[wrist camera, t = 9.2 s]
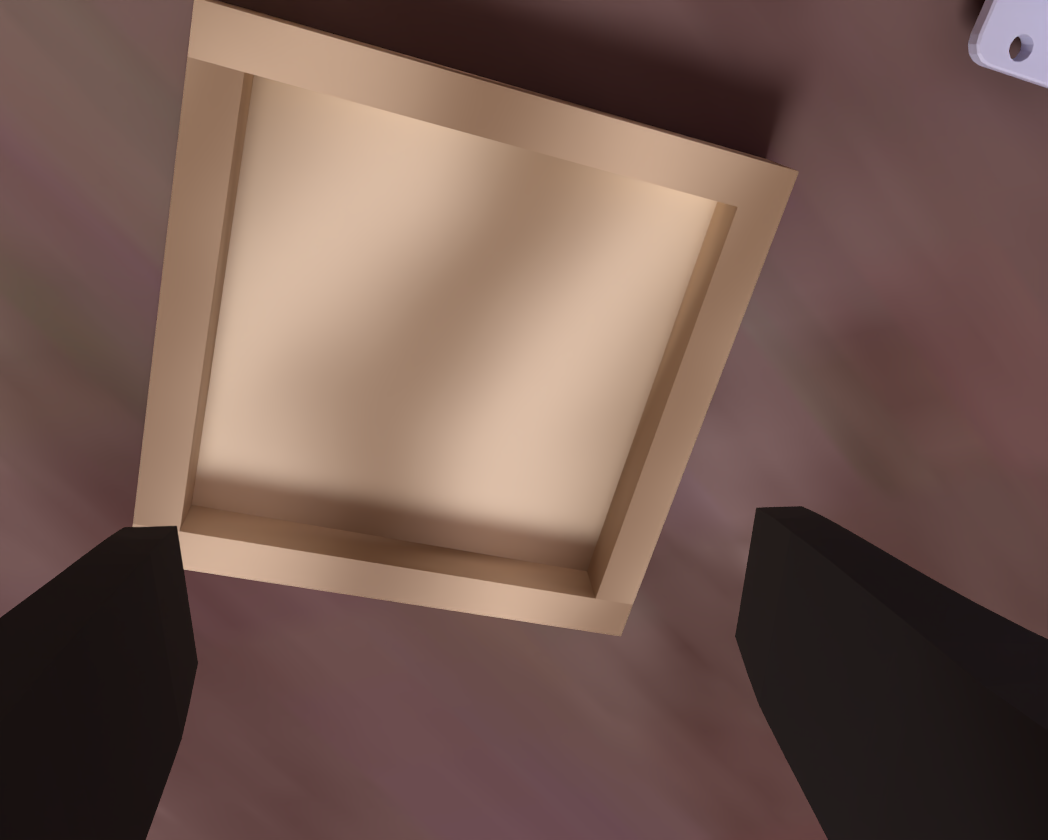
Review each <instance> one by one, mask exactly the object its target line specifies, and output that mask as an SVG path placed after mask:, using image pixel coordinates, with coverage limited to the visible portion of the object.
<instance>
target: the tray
mask: <svg viewBox="0 0 1048 840" xmlns="http://www.w3.org/2000/svg"><path fill="white" fill-rule="evenodd" d="M798 173H799V171H796V170H794V169H791V168H789V167H786V166H783V165H781V164H778V163H776V162H773V161H770V160H768V159H765V158H761V157H758V156H754V155H751V154H748V153H744V152H741V151H737V150H734V149H730V148H727V147H723V146H720V145H716V144H713V143H709V142H706V141H703V140H699V139H696V138H692V137H689V136H685V135H682V134H678V133H675V132H671V131H668V130H664V129H661V128H657V127H654V126H651V125H647V124H644V123H640V122H637V121H633V120H630V119H626V118H623V117H619V116H616V115H612V114H609V113H606V112H602V111H599V110H595V109H592V108H588V107H585V106H581V105H578V104H574V103H571V102H567V101H564V100H561V99H557V98H554V97H550V96H547V95H543V94H540V93H536V92H533V91H529V90H526V89H522V88H519V87H516V86H512V85H509V84H505V83H502V82H498V81H495V80H491V79H488V78H484V77H481V76H477V75H474V74H470V73H467V72H464V71H460V70H457V69H453V68H450V67H446V66H443V65H439V64H436V63H432V62H429V61H425V60H422V59H419V58H415V57H412V56H408V55H405V54H401V53H398V52H394V51H391V50H387V49H384V48H380V47H377V46H374V45H370V44H367V43H363V42H360V41H356V40H353V39H349V38H346V37H342V36H339V35H335V34H332V33H329V32H325V31H322V30H318V29H315V28H311V27H308V26H304V25H301V24H297V23H294V22H290V21H287V20H283V19H280V18H277V17H273V16H270V15H266V14H263V13H259V12H256V11H252V10H249V9H245V8H242V7H238V6H235V5H232V4H228V3H225V2H221V1H218V0H194V6H193V14H192V23H191V32H190V40H189V49H188V57H187V66H186V74H185V83H184V92H183V100H182V109H181V117H180V126H179V134H178V143H177V152H176V160H175V169H174V177H173V186H172V195H171V203H170V212H169V220H168V229H167V237H166V246H165V255H164V263H163V272H162V280H161V289H160V298H159V306H158V315H157V323H156V332H155V340H154V349H153V358H152V366H151V375H150V383H149V392H148V401H147V409H146V418H145V426H144V435H143V443H142V452H141V461H140V469H139V478H138V486H137V495H136V504H135V512H134V521H133V527H154V526H177V529H178V536H179V542H180V549H181V556H182V562H183V569H185V570H191V571H198V572H204V573H211V574H217V575H224V576H230V577H237V578H243V579H250V580H256V581H263V582H270V583H276V584H283V585H289V586H296V587H302V588H309V589H315V590H322V591H328V592H335V593H341V594H348V595H354V596H361V597H368V598H374V599H381V600H387V601H394V602H400V603H407V604H413V605H420V606H426V607H433V608H439V609H446V610H452V611H459V612H466V613H472V614H479V615H485V616H492V617H498V618H505V619H511V620H518V621H524V622H531V623H537V624H544V625H550V626H557V627H564V628H570V629H577V630H583V631H590V632H596V633H603V634H609V635H616V636H621V634H622V632H623V629H624V626H625V624H626V621H627V619H628V616H629V613H630V611H631V608H632V605H633V603H634V600H635V598H636V595H637V592H638V590H639V587H640V585H641V582H642V579H643V577H644V574H645V572H646V569H647V566H648V564H649V561H650V559H651V556H652V553H653V551H654V548H655V546H656V543H657V540H658V538H659V535H660V532H661V530H662V527H663V525H664V522H665V519H666V517H667V514H668V512H669V509H670V506H671V504H672V501H673V499H674V496H675V493H676V491H677V488H678V486H679V483H680V480H681V478H682V475H683V472H684V470H685V467H686V465H687V462H688V459H689V457H690V454H691V452H692V449H693V446H694V444H695V441H696V439H697V436H698V433H699V431H700V428H701V426H702V423H703V420H704V418H705V415H706V412H707V410H708V407H709V405H710V402H711V399H712V397H713V394H714V392H715V389H716V386H717V384H718V381H719V379H720V376H721V373H722V371H723V368H724V366H725V363H726V360H727V358H728V355H729V353H730V350H731V347H732V345H733V342H734V339H735V337H736V334H737V332H738V329H739V326H740V324H741V321H742V319H743V316H744V313H745V311H746V308H747V306H748V303H749V300H750V298H751V295H752V293H753V290H754V287H755V285H756V282H757V279H758V277H759V274H760V272H761V269H762V266H763V264H764V261H765V259H766V256H767V253H768V251H769V248H770V246H771V243H772V240H773V238H774V235H775V233H776V230H777V227H778V225H779V222H780V219H781V217H782V214H783V212H784V209H785V206H786V204H787V201H788V199H789V196H790V193H791V191H792V188H793V186H794V183H795V180H796V178H797V175H798Z"/></svg>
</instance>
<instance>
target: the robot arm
mask: <svg viewBox="0 0 1048 840" xmlns="http://www.w3.org/2000/svg"><path fill="white" fill-rule="evenodd" d="M1016 37H1019V38H1020V40H1021V49H1020V52H1019V53H1018V55H1017V56H1016V57H1015V58H1014V59H1011V58H1010V55H1009V48H1010V44H1011V43H1012V41H1013V40H1014V39H1015V38H1016ZM968 49H969V55H970V56H971V58H972V60H973V61H974V62H975V63H977V64H978V65H980V66H983V67H986V68H989V69H992V70H995V71H998V72H1001V73H1004V74H1007V75H1010V76H1013V77H1016V78H1019V79H1022V80H1025V81H1028V82H1031V83H1034V84H1037V85H1040V86H1043V87H1046V88H1048V0H985V2H984V4H983V7H982V9H981V11H980V14H979V16H978V18H977V21H976V23H975V25H974V27H973V30H972V32H971V35H970V39H969V42H968ZM735 637H736V640H737V643H738V646H739V649H740V652H741V655H742V658H743V661H744V664H745V667H746V670H747V673H748V676H749V679H750V682H751V684H752V687H753V690H754V692H755V695H756V698H757V701H758V703H759V706H760V708H761V710H762V712H763V714H764V716H765V718H766V720H767V722H768V724H769V726H770V728H771V730H772V732H773V734H774V736H775V738H776V740H777V742H778V744H779V746H780V748H781V750H782V752H783V753H784V755H785V757H786V759H787V761H788V763H789V765H790V767H791V769H792V771H793V773H794V775H795V777H796V779H797V781H798V782H799V784H800V786H801V788H802V790H803V792H804V794H805V796H806V798H807V800H808V802H809V804H810V806H811V808H812V809H813V811H814V813H815V815H816V817H817V819H818V821H819V823H820V825H821V827H822V829H823V831H824V833H825V834H826V836H827V838H828V840H1048V639H1046V638H1044V637H1042V636H1040V635H1038V634H1036V633H1033V632H1031V631H1029V630H1027V629H1025V628H1023V627H1021V626H1020V625H1018V624H1016V623H1014V622H1012V621H1010V620H1008V619H1006V618H1004V617H1002V616H1000V615H998V614H996V613H994V612H992V611H990V610H988V609H986V608H985V607H983V606H981V605H979V604H977V603H975V602H973V601H971V600H969V599H968V598H966V597H964V596H962V595H960V594H958V593H957V592H955V591H953V590H951V589H949V588H947V587H946V586H944V585H942V584H940V583H939V582H937V581H935V580H933V579H931V578H930V577H928V576H926V575H924V574H923V573H921V572H919V571H917V570H916V569H914V568H912V567H910V566H909V565H907V564H905V563H904V562H902V561H900V560H898V559H897V558H895V557H893V556H892V555H890V554H888V553H886V552H885V551H883V550H881V549H880V548H878V547H876V546H874V545H873V544H871V543H869V542H868V541H866V540H864V539H862V538H861V537H859V536H857V535H856V534H854V533H852V532H850V531H849V530H847V529H845V528H843V527H841V526H840V525H838V524H836V523H834V522H832V521H831V520H829V519H827V518H825V517H823V516H821V515H819V514H817V513H815V512H813V511H811V510H809V509H806V508H804V507H802V506H797V507H765V508H756V513H755V519H754V525H753V531H752V537H751V544H750V550H749V556H748V562H747V568H746V574H745V580H744V586H743V592H742V599H741V605H740V611H739V617H738V623H737V629H736V635H735ZM197 664H198V661H197V654H196V648H195V641H194V634H193V628H192V621H191V615H190V608H189V602H188V595H187V588H186V582H185V575H184V569H183V562H182V556H181V549H180V542H179V536H178V529H177V526H154V527H124V528H122V529H121V530H119V531H118V532H116V533H114V534H113V535H111V536H110V537H108V538H107V539H106V540H104V541H103V542H101V543H100V544H99V545H97V546H96V547H95V548H93V549H92V550H91V551H89V552H88V553H87V554H85V555H84V556H83V557H81V558H80V559H79V560H77V561H76V562H75V563H73V564H72V565H71V566H69V567H68V568H67V569H65V570H64V571H63V572H61V573H60V574H59V575H57V576H56V577H55V578H53V579H52V580H51V581H49V582H48V583H47V584H45V585H44V586H43V587H41V588H40V589H39V590H37V591H36V592H35V593H33V594H32V595H30V596H29V597H28V598H26V599H25V600H24V601H22V602H21V603H20V604H18V605H17V606H16V607H14V608H13V609H12V610H10V611H9V612H7V613H6V614H5V615H3V616H2V617H1V618H0V840H146V837H147V834H148V831H149V829H150V826H151V823H152V820H153V818H154V815H155V812H156V809H157V807H158V804H159V801H160V798H161V796H162V793H163V790H164V787H165V784H166V782H167V779H168V776H169V773H170V770H171V768H172V765H173V762H174V759H175V756H176V753H177V750H178V747H179V745H180V742H181V739H182V734H183V730H184V726H185V721H186V717H187V713H188V708H189V704H190V699H191V694H192V689H193V684H194V679H195V674H196V669H197Z"/></svg>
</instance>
